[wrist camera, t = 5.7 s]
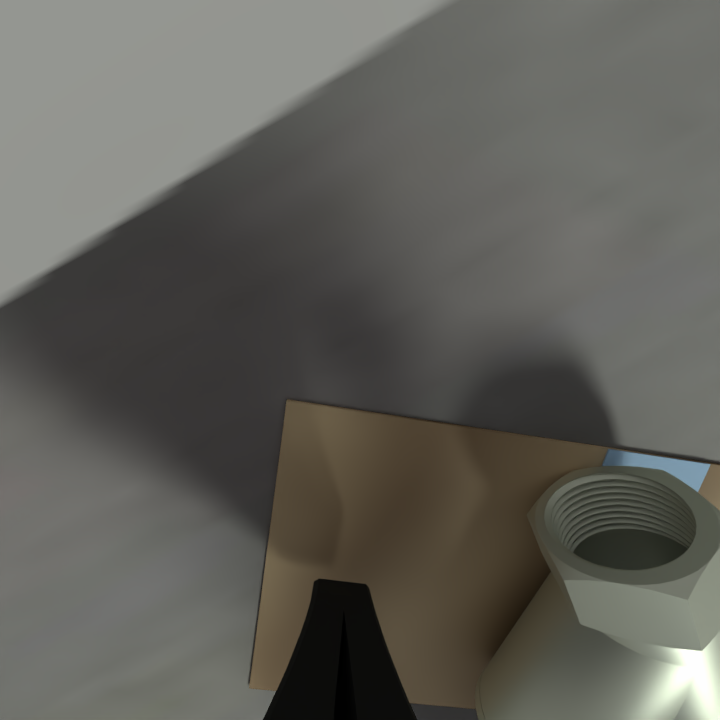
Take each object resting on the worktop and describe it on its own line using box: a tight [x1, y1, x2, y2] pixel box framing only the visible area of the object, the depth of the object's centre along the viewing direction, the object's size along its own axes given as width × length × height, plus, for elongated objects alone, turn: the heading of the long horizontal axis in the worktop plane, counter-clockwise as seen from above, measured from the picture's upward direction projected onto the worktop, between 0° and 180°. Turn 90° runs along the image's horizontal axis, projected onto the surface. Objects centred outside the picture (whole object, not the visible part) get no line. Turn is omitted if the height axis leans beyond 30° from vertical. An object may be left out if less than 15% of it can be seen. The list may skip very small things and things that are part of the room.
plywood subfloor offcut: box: [249, 399, 720, 709], centre depth 11 cm, size 20×10×1 cm, turn 80°
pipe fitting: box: [475, 466, 720, 720], centre depth 9 cm, size 8×4×7 cm
